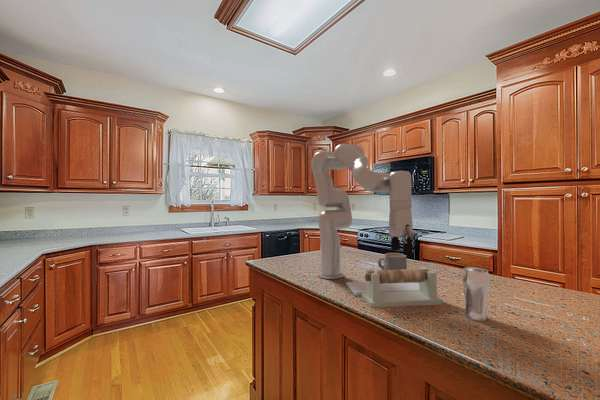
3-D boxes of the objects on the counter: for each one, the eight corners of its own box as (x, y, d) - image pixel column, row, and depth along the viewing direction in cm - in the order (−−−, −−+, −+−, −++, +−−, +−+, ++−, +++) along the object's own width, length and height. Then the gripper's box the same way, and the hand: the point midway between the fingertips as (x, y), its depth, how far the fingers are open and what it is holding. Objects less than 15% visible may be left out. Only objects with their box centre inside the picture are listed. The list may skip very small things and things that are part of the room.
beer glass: (493, 323, 83) (493, 273, 82) (467, 321, 84) (467, 272, 84) (482, 313, 90) (483, 267, 89) (459, 311, 91) (459, 266, 91)
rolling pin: (367, 287, 98) (368, 274, 97) (363, 279, 102) (364, 268, 101) (437, 284, 100) (439, 272, 99) (430, 277, 105) (431, 266, 104)
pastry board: (346, 284, 119) (346, 282, 119) (412, 282, 122) (412, 279, 122) (355, 295, 106) (355, 292, 106) (429, 292, 109) (429, 289, 109)
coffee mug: (410, 275, 132) (410, 254, 132) (400, 280, 126) (399, 258, 126) (385, 270, 142) (385, 250, 142) (374, 274, 136) (374, 253, 136)
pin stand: (361, 296, 105) (361, 268, 105) (426, 294, 107) (426, 266, 107) (370, 307, 95) (370, 276, 95) (442, 304, 97) (442, 273, 97)
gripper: (381, 205, 109) (382, 248, 109) (401, 205, 92) (402, 257, 92) (399, 204, 110) (400, 248, 109) (423, 205, 92) (424, 256, 92)
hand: (401, 252), depth 101 cm, fingers open, 9 cm apart
